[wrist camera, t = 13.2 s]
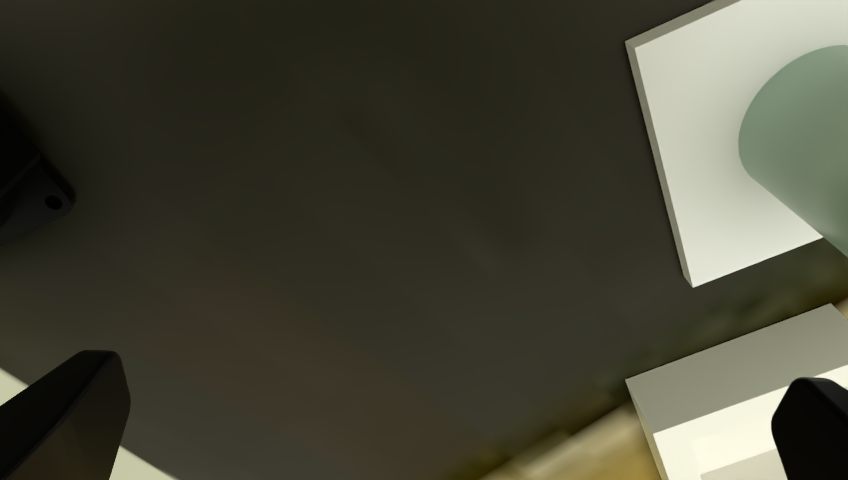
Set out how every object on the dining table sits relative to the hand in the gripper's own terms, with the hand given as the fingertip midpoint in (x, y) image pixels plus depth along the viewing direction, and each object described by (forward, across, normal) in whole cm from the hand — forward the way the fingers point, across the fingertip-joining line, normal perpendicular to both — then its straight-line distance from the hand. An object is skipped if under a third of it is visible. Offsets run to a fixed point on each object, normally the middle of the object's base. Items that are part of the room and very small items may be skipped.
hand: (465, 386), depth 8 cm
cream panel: (+14, -13, 0) cm, 19 cm away
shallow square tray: (+14, -16, +15) cm, 26 cm away
